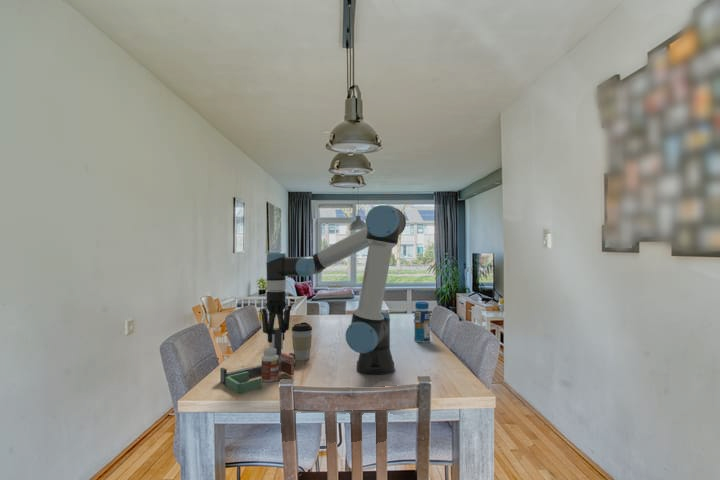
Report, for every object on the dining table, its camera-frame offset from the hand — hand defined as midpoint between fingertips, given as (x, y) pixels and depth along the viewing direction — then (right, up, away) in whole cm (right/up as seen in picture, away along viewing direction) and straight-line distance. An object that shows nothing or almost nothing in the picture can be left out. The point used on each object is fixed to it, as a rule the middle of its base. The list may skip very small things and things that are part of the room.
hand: (276, 349), depth 155 cm
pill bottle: (0, -8, -11) cm, 14 cm away
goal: (-8, -8, -19) cm, 21 cm away
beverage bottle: (+66, -9, +46) cm, 81 cm away
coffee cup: (+8, -9, +16) cm, 20 cm away
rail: (-5, -8, -5) cm, 11 cm away
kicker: (+4, -7, -4) cm, 9 cm away
